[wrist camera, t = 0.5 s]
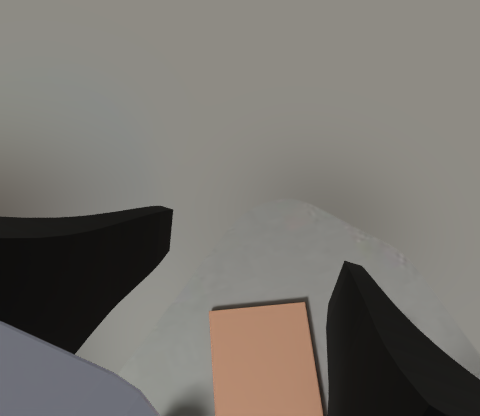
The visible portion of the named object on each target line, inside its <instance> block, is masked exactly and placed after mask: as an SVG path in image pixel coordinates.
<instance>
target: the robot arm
mask: <svg viewBox="0 0 480 416" xmlns="http://www.w3.org/2000/svg"><path fill="white" fill-rule="evenodd" d="M172 215H173V209H169V208H166V207H163V206H150V207H143V208H136V209H130V210H123V211H118V212H110V213H103V214H96V215H87V216H77V217H61V218H17V217H0V416H160V415H159V413H158V412H157V411H156V410H155V408H154V407H153V406H152V404H151V403H150V402H149V401H148V399H147V398H146V397H145V395H144V394H143V393H142V392H141V390H139V389H138V388H136V387H135V386H133V385H132V384H130V383H129V382H127V381H126V380H124V379H123V378H121V377H120V376H118V375H117V374H115V373H114V372H112V371H109V370H107V369H105V368H103V367H100V366H98V365H96V364H94V363H92V362H90V361H87V360H85V359H83V358H81V357H79V356H76V355H75V353H76V352H77V351H78V350H79V348H80V347H81V346H82V345H83V343H84V342H85V341H86V340H87V338H88V337H89V336H90V335H91V334H92V332H93V331H94V330H95V329H96V328H97V326H98V325H99V324H100V323H101V322H102V321H103V319H104V318H105V317H106V316H107V315H108V314H109V312H110V311H111V310H112V309H113V308H114V307H115V306H116V305H117V304H118V303H119V302H120V301H121V300H122V299H123V298H124V297H125V296H127V295H128V294H129V293H130V292H131V291H132V290H133V289H134V288H135V287H136V286H137V285H138V284H139V283H140V282H142V281H143V280H144V279H145V278H146V277H147V276H148V275H149V274H150V273H151V272H152V271H153V270H154V269H155V268H156V267H157V266H158V265H159V263H160V262H161V261H162V260H163V258H164V257H165V256H166V254H167V253H168V252H169V249H170V237H171V226H172ZM326 335H327V358H328V380H329V401H328V416H480V380H479V379H478V378H477V377H475V376H474V375H473V374H471V373H470V372H469V371H467V370H466V369H465V368H464V367H462V366H461V365H460V364H458V363H457V362H456V361H455V360H453V359H452V358H451V357H450V356H448V355H447V354H446V353H445V352H444V351H442V350H441V349H440V348H439V347H438V346H436V345H435V344H434V343H433V342H432V341H431V340H430V339H429V338H428V337H427V336H425V335H424V334H423V333H422V332H421V331H420V330H419V329H418V328H417V327H416V326H415V325H414V324H413V323H412V322H411V321H410V320H409V319H408V318H407V317H406V316H405V315H404V314H403V313H402V312H401V311H400V310H399V309H398V308H397V307H396V305H395V304H394V303H393V302H392V301H391V300H390V299H389V298H388V296H387V295H386V294H385V293H384V292H383V291H382V289H381V288H380V287H379V286H378V285H377V283H376V282H375V281H374V280H373V278H372V277H371V276H370V275H369V274H368V272H367V271H366V270H365V269H364V268H363V267H362V266H360V265H357V264H354V263H350V262H347V261H344V264H343V266H342V269H341V272H340V274H339V277H338V280H337V282H336V285H335V288H334V290H333V293H332V296H331V298H330V301H329V304H328V313H327V324H326Z"/></svg>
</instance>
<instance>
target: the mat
mask: <svg viewBox="0 0 480 416" xmlns="http://www.w3.org/2000/svg"><path fill="white" fill-rule="evenodd" d="M209 319H210V335H211V352H212V368H213V385H214V401H215V416H324V414H323V408H322V402H321V396H320V389H319V383H318V377H317V371H316V365H315V359H314V353H313V347H312V340H311V334H310V328H309V322H308V316H307V310H306V304H305V302H299V303H289V304H279V305H268V306H258V307H247V308H237V309H226V310H216V311H209Z"/></svg>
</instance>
